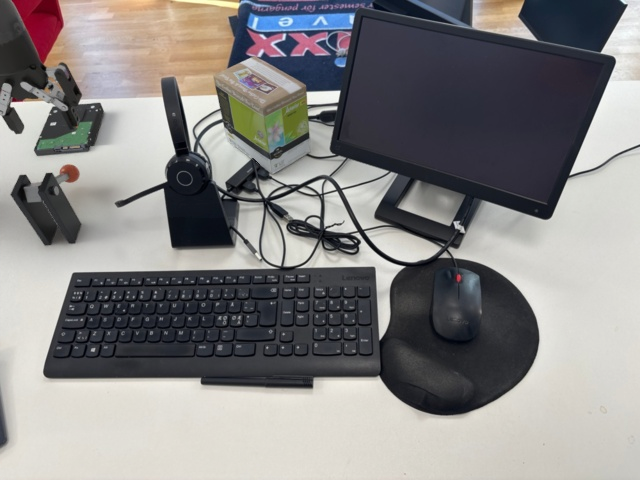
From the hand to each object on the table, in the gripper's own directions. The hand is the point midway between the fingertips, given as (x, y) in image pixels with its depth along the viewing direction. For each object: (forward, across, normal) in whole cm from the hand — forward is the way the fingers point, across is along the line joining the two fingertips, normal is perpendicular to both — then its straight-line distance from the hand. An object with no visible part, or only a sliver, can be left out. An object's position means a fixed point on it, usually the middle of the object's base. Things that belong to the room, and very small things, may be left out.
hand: (47, 129), depth 82 cm
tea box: (+16, -33, -11) cm, 38 cm away
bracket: (+15, +1, +10) cm, 18 cm away
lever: (+9, +1, +5) cm, 10 cm away
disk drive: (+16, +7, -19) cm, 26 cm away
